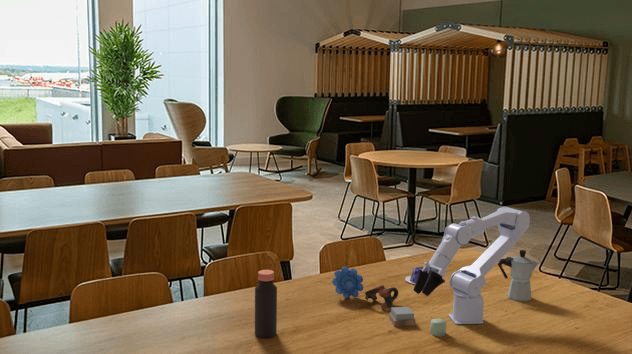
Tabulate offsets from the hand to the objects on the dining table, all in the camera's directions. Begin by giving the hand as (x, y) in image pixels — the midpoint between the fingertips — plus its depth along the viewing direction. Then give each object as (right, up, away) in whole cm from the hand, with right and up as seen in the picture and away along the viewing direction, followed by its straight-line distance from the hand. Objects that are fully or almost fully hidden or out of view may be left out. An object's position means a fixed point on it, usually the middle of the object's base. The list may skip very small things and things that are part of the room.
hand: (420, 293), depth 206 cm
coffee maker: (+41, -8, +34) cm, 53 cm away
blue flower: (-21, -8, +29) cm, 37 cm away
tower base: (-5, -12, +9) cm, 15 cm away
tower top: (-5, -9, +9) cm, 13 cm away
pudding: (+8, -5, +50) cm, 51 cm away
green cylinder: (+6, -13, 0) cm, 14 cm away
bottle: (-48, -12, -3) cm, 50 cm away
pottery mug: (-10, -9, +24) cm, 27 cm away
